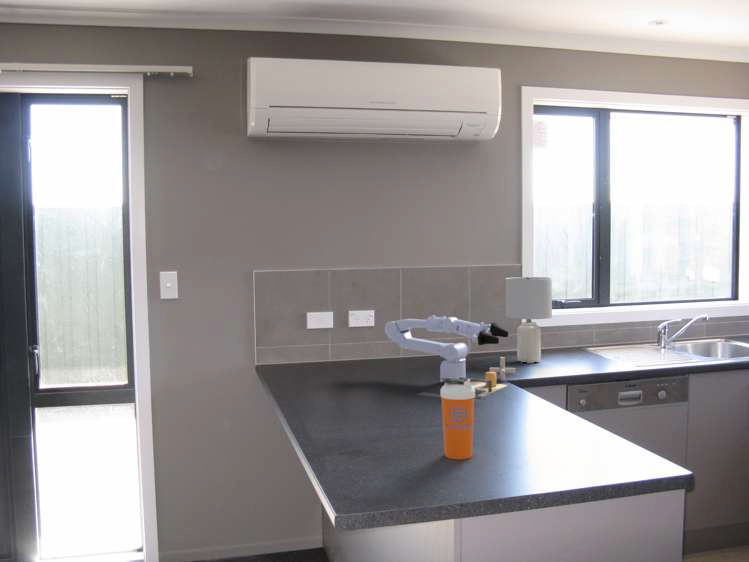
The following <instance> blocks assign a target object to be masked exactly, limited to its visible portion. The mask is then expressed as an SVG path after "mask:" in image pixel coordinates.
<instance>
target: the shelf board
mask: <svg viewBox="0 0 749 562" xmlns="http://www.w3.org/2000/svg"><path fill="white" fill-rule="evenodd" d="M468 378H469V379H470V381H471V384H472V386H473V388H474V389H475V391H476V390H477V391H484V392H482V393H479V394H478V395H477V398H476V400H482V399H483V400H485V398H482V397H486V396H488V395H490V394H492V393H495V392H496V391H499V390H501V389H503V388H505V387H508V386H509V384H503V383H502V384H501V383H496V387H492V380H486V379H479V378H470V377H468ZM459 379H462V380H463V379H464V378H462V377H460V378H459ZM486 383H488V387H486ZM483 400H482V401H483Z"/></svg>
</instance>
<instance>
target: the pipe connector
mask: <svg viewBox="0 0 749 562" xmlns="http://www.w3.org/2000/svg"><path fill="white" fill-rule="evenodd" d="M499 359H500V360H499V367H489V372H496V373H499V376H500V377H499V379H500V380H499V381H506V373H514V374H515V373H517V371H516V370H517V368H516V367H506V357H505V356H504V357H503V356H500V357H499Z"/></svg>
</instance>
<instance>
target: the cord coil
mask: <svg viewBox="0 0 749 562" xmlns="http://www.w3.org/2000/svg"><path fill="white" fill-rule="evenodd" d="M484 375H485V380H492V387H496V384H497V372H490V371H486V372H485V373H484ZM486 387H488V383H486Z"/></svg>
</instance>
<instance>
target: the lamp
mask: <svg viewBox="0 0 749 562" xmlns="http://www.w3.org/2000/svg"><path fill="white" fill-rule="evenodd" d="M552 281H553V280H552V277H547V276H546V277H544V276H541V277H540V276H539V277H538V276H523V277H522V276H519V277H518V276H517V277H516V276H515V277H505V317H506V318H508V319H513V320H525V321H523V322H521V324H520V325H519V326H518V327H517V329H516V331H517V332H516V333H517V335H516V336H517V337H516V339H517V340H516V342H517V343H516V345H517V347H516V349H517V352H516V353H517V360H518V362H519V361H521V362H520V363H522V362H527V363H526V364H535V363H534V362H537V363H539V362H540V361H541V359H542V357H541V356H542V353H541V352H542V350H541V349H542V345H541V344H542V339H541V338H542V337H541V335H542V332H541V327H540V326H539V325H538V324H537V322H534V321H532V320H545V319H551V318H553V303H552V301H553V291H552V290H553V282H552Z"/></svg>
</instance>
